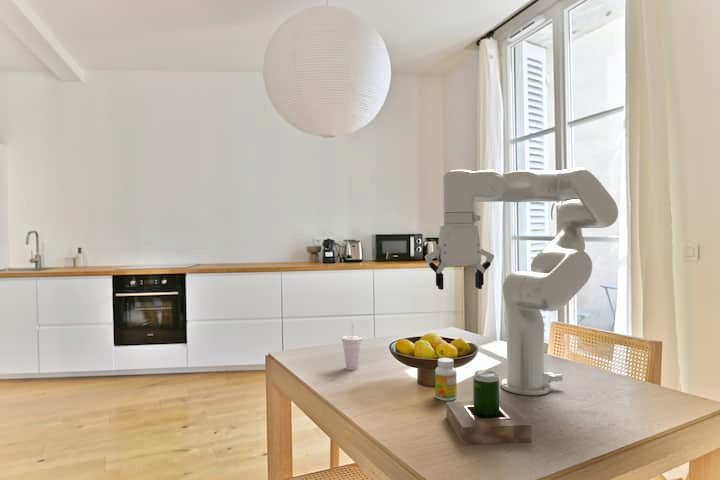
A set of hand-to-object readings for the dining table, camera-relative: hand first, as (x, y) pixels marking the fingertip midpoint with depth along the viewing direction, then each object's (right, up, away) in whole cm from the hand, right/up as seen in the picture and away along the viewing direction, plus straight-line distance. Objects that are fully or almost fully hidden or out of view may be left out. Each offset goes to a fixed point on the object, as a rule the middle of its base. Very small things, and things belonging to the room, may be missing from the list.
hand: (459, 288), depth 119 cm
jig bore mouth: (+2, -25, -16) cm, 30 cm away
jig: (+2, -29, -16) cm, 33 cm away
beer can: (+2, -29, -16) cm, 33 cm away
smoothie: (-27, -28, +30) cm, 49 cm away
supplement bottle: (-3, -29, +3) cm, 29 cm away
